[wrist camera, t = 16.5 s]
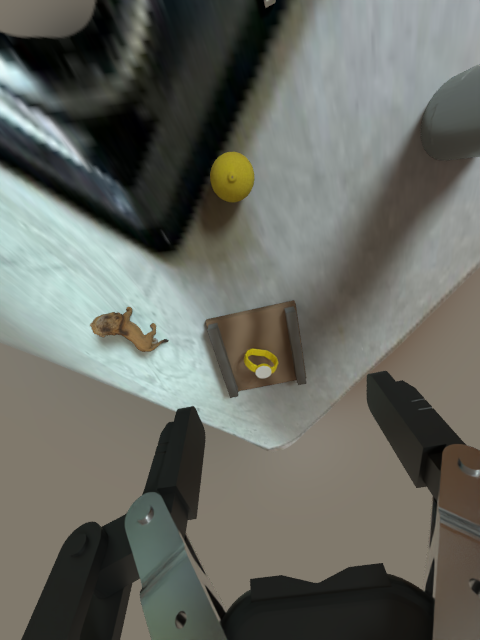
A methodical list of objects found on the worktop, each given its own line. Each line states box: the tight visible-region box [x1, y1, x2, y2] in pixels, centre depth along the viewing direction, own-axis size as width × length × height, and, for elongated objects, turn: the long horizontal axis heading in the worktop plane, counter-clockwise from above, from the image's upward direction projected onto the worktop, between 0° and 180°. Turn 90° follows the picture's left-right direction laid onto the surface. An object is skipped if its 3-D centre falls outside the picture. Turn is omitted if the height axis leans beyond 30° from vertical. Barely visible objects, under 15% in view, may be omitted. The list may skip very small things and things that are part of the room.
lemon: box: [210, 152, 254, 202], centre depth 32 cm, size 6×6×8 cm
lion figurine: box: [90, 307, 168, 352], centre depth 43 cm, size 12×4×7 cm, turn 54°
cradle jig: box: [206, 301, 306, 398], centre depth 48 cm, size 16×17×3 cm
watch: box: [244, 349, 278, 378], centre depth 45 cm, size 6×3×6 cm, turn 78°
